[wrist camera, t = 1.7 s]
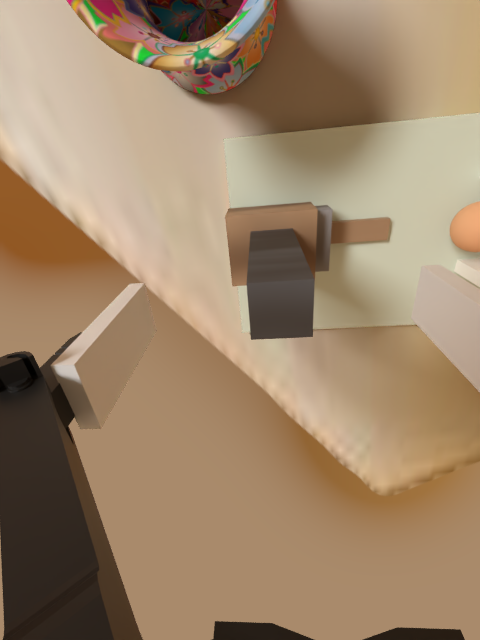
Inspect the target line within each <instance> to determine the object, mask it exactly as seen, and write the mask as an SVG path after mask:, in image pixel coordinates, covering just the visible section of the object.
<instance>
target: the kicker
mask: <svg viewBox="0 0 480 640" xmlns="http://www.w3.org/2000/svg"><path fill="white" fill-rule="evenodd" d="M332 212H333V209H332V208H330V207H329V206H328V205H321V206H314V205H313V204H312V203H311V202H302V203H290V204H277V205H265V206H253V207H241V208H229V209H228V212H227V214H226V216H225V219H226V228H227V238H228V247H229V257H230V266H231V276H232V285H233V286H245V285H247V296H248V308H249V321H250V333H251V340H253V339H275V338H297V337H313V312H314V285H315V272H320V271H329V262H330V245H331V228H332Z"/></svg>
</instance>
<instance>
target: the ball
mask: <svg viewBox="0 0 480 640" xmlns="http://www.w3.org/2000/svg"><path fill="white" fill-rule="evenodd" d="M450 237H451V239H452V241H453V243H454V244H455V245H456V246H457V247H459V248H460V249H462V250H465V251H469V252H480V201H479V202H475V203H472V204H470V205H468V206H466V207H464V208H463V209H461V210H460V211H459V212H458V213H457V214H456V215H455V217H454V218H453V220H452V222H451V225H450Z"/></svg>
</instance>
